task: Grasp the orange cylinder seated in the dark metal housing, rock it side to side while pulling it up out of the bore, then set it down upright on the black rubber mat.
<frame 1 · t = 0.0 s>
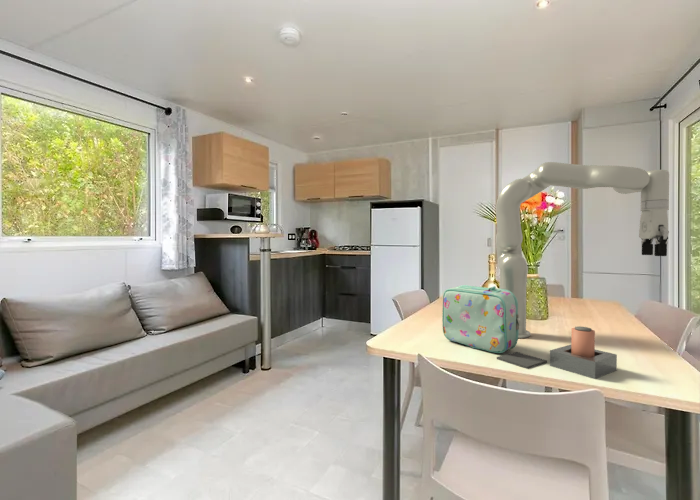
hand: (653, 255, 126), 31 cm above the table, tool pointing down, fingers open, 9 cm apart
lunch box: (479, 346, 126), on the table
orange cylinder: (582, 368, 104), resting in housing
housing: (582, 367, 104), on the table
mat: (521, 360, 110), on the table
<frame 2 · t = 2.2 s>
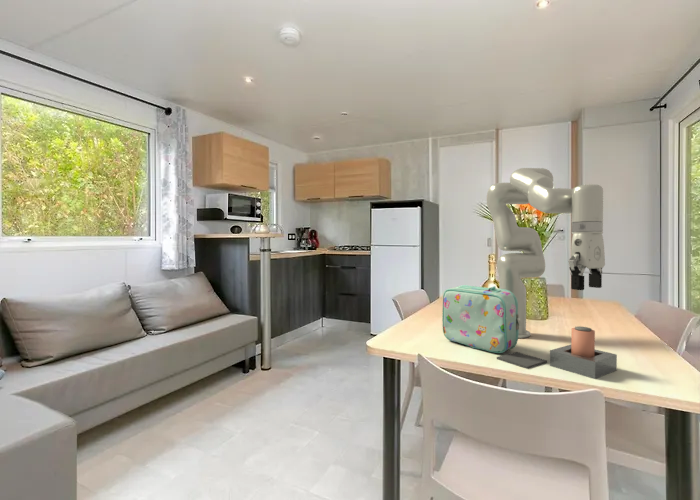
hand: (586, 288, 104), 23 cm above the table, tool pointing down, fingers open, 9 cm apart
nothing on the table moved.
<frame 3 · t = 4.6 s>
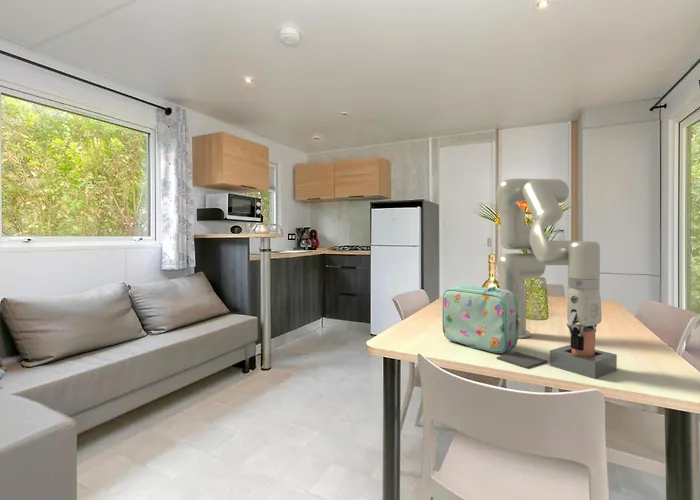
hand: (582, 347, 104), 6 cm above the table, tool pointing down, fingers closed on orange cylinder, 5 cm apart
orange cylinder: (582, 368, 104), resting in housing, touching gripper
everything else where it was.
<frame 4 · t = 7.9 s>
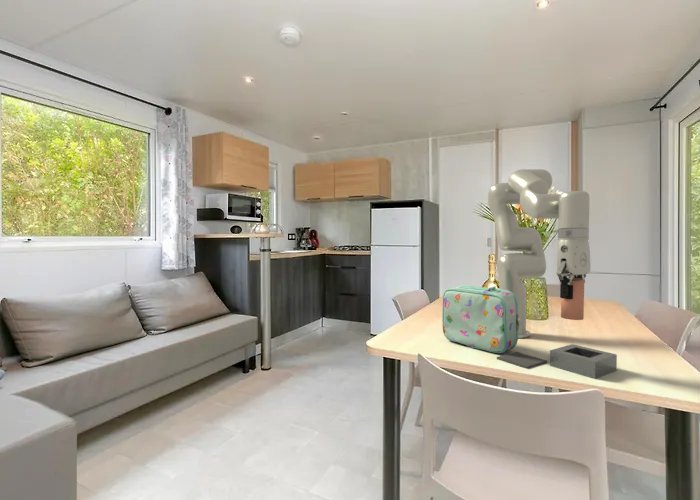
hand: (572, 297, 105), 20 cm above the table, tool pointing down, fingers closed on orange cylinder, 5 cm apart
orange cylinder: (572, 317, 105), point 14 cm above the table, touching gripper
everything else where it was.
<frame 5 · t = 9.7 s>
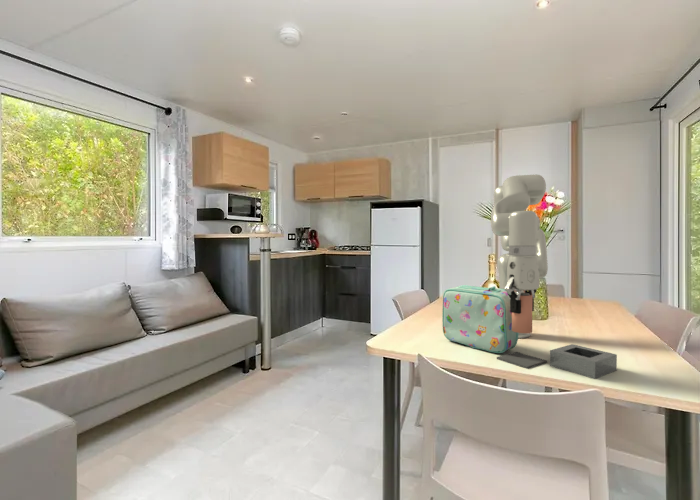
hand: (522, 311, 110), 15 cm above the table, tool pointing down, fingers closed on orange cylinder, 5 cm apart
orange cylinder: (521, 331, 110), point 9 cm above the table, touching gripper
everything else where it was.
when the fingers open (8 cm above the table, at t = 11.4 s): orange cylinder drops 1 cm, resting on mat.
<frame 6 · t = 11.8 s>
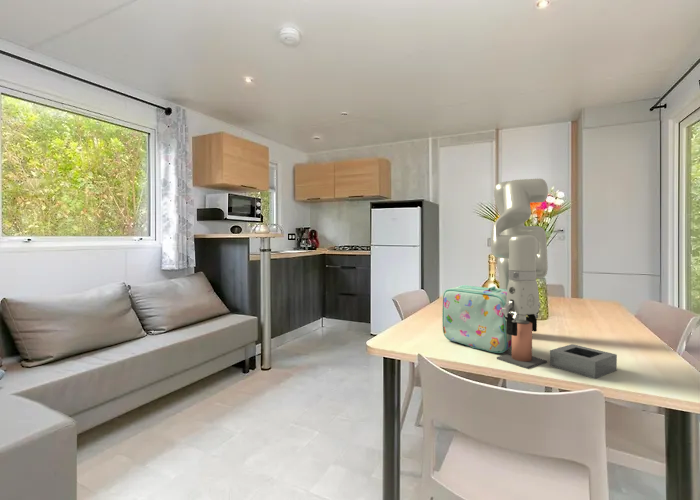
hand: (521, 332, 110), 9 cm above the table, tool pointing down, fingers open, 9 cm apart
orange cylinder: (521, 358, 110), point 1 cm above the table, touching mat
everything else where it was.
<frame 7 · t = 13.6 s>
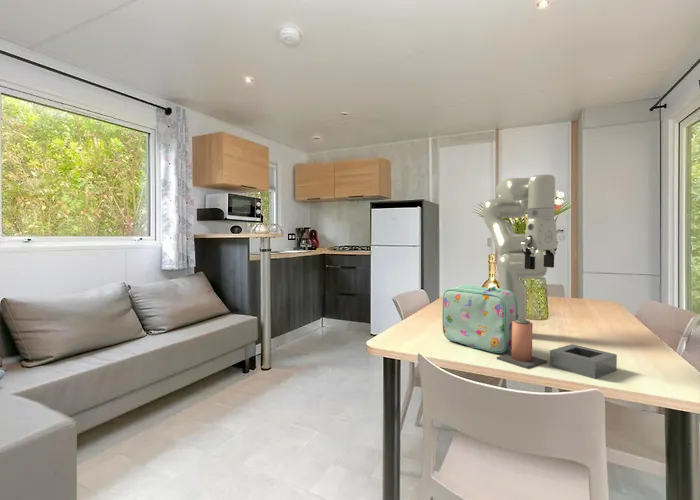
hand: (539, 268, 116), 28 cm above the table, tool pointing down, fingers open, 9 cm apart
nothing on the table moved.
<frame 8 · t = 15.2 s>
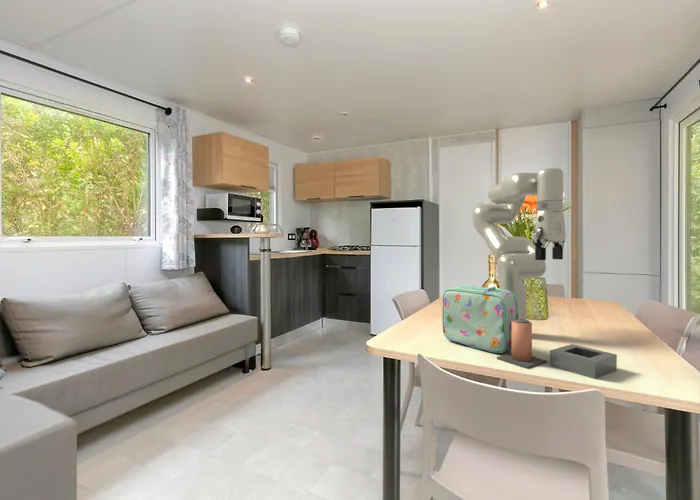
hand: (549, 259, 119), 30 cm above the table, tool pointing down, fingers open, 9 cm apart
nothing on the table moved.
at the end: orange cylinder inside the target area on the mat (0.1 cm from its centre), point 0.7 cm above the mat's base; orange cylinder tilted 2°; orange cylinder touching mat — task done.
